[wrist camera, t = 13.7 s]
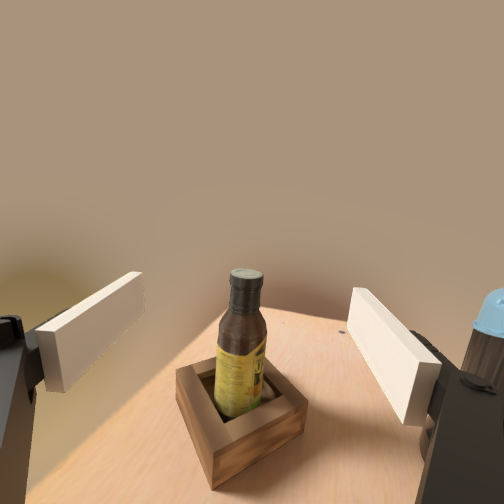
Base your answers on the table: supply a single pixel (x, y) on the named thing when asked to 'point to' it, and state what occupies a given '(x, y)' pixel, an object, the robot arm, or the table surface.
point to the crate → (237, 420)
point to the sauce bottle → (240, 348)
